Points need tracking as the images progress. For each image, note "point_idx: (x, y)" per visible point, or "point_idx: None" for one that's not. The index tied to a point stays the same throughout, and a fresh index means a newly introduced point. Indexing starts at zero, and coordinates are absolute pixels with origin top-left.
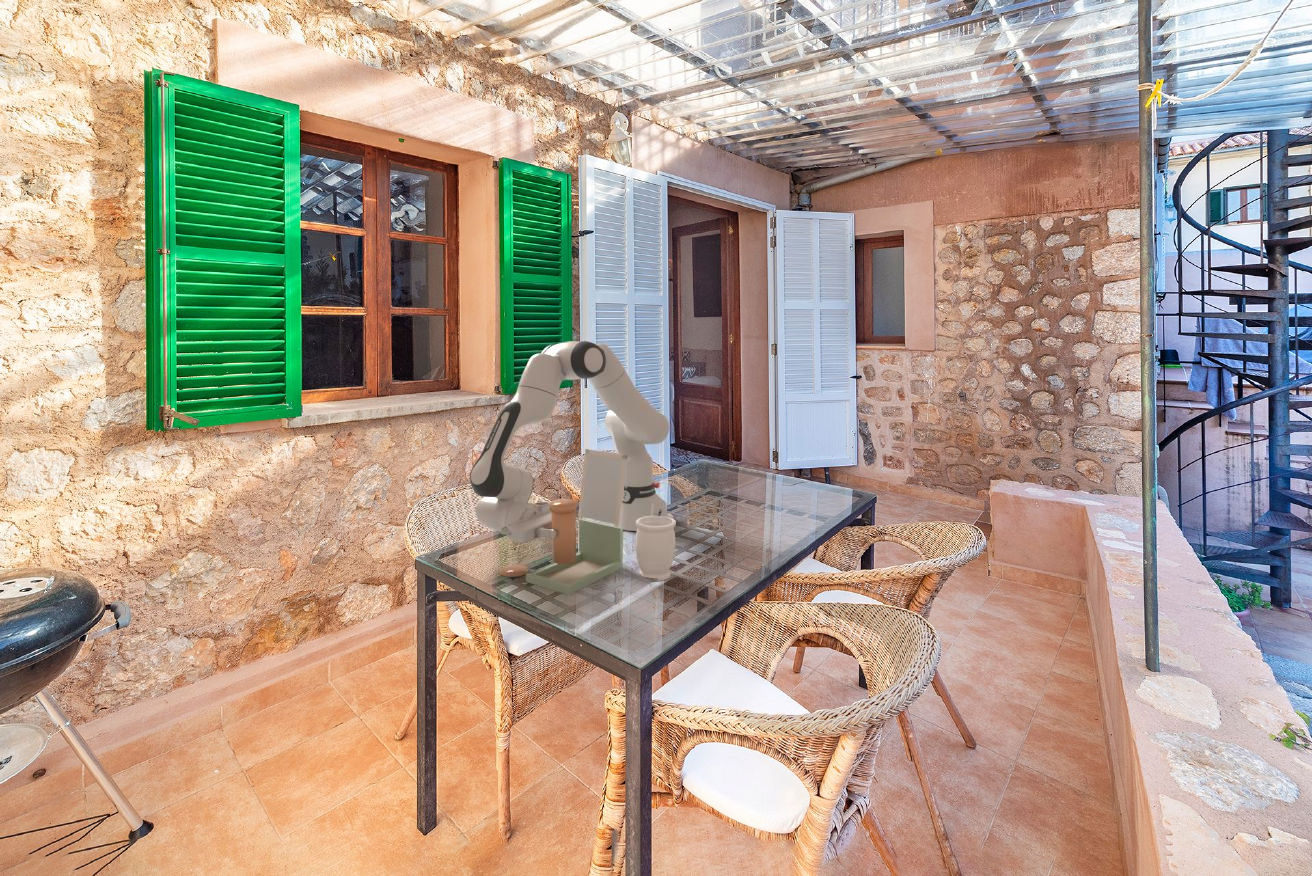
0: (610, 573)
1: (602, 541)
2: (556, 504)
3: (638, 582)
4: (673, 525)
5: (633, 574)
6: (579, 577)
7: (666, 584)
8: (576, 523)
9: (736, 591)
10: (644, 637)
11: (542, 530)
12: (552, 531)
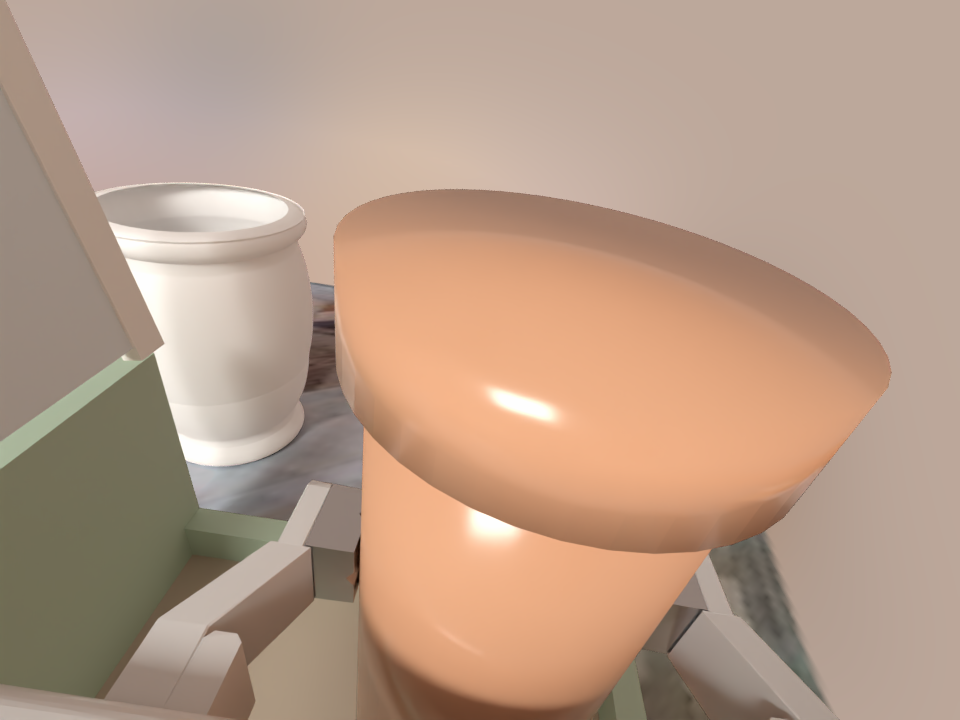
0: None
1: (67, 565)
2: (756, 295)
3: (321, 449)
4: (239, 190)
5: (234, 487)
6: None
7: (313, 386)
8: (329, 485)
9: (314, 290)
10: None
11: (813, 704)
12: (708, 566)
